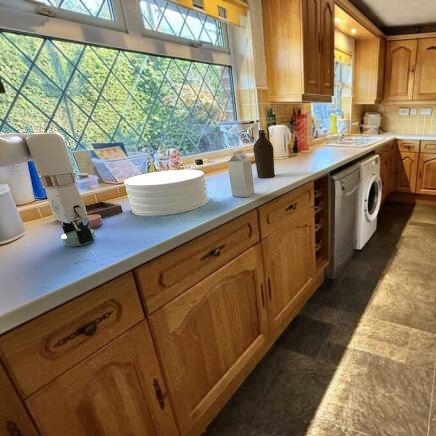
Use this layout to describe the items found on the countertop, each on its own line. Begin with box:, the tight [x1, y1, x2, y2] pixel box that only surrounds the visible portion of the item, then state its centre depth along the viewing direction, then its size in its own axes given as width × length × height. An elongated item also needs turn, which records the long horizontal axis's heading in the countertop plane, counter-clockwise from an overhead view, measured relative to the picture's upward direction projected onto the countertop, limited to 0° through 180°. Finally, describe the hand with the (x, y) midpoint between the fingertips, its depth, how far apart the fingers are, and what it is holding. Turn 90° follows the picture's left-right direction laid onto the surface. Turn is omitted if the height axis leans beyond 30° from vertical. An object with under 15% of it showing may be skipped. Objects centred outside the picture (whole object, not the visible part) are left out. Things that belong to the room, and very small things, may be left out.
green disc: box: [60, 228, 97, 248], centre depth 87 cm, size 7×7×3 cm
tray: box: [72, 200, 124, 224], centre depth 111 cm, size 16×14×3 cm
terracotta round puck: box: [74, 215, 104, 229], centre depth 100 cm, size 7×7×3 cm
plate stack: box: [123, 169, 209, 217], centre depth 120 cm, size 28×28×12 cm
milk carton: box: [227, 149, 255, 198], centre depth 129 cm, size 7×7×19 cm
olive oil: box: [252, 129, 276, 179], centre depth 163 cm, size 11×11×25 cm
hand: (79, 239), depth 88 cm, fingers closed on green disc, 7 cm apart
